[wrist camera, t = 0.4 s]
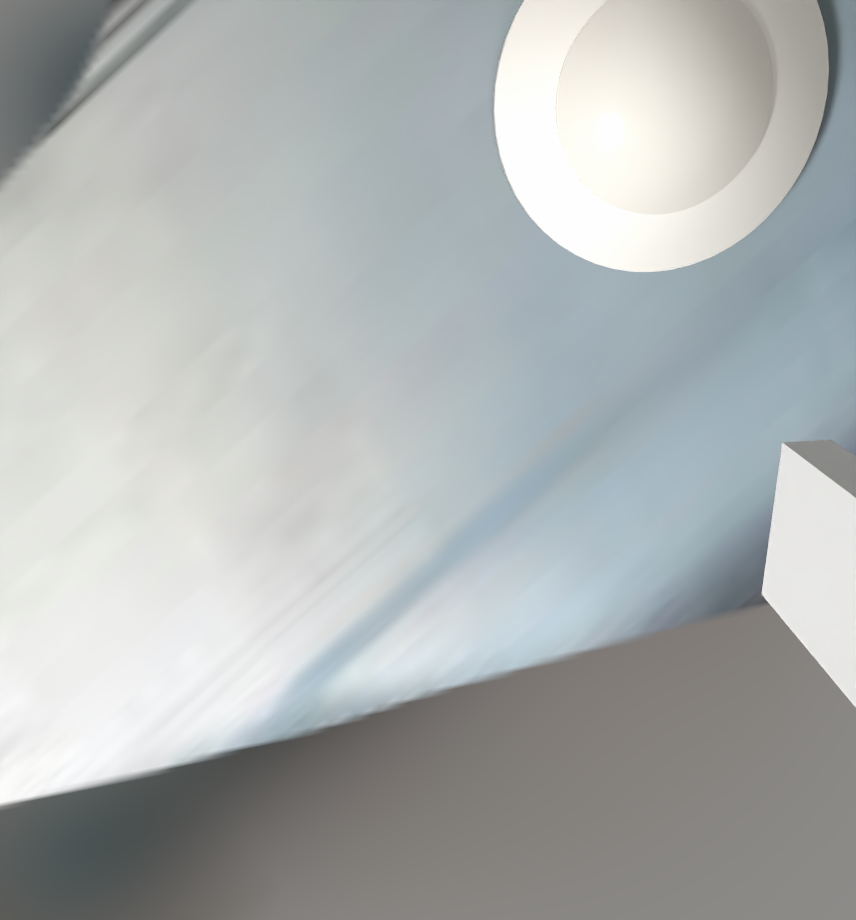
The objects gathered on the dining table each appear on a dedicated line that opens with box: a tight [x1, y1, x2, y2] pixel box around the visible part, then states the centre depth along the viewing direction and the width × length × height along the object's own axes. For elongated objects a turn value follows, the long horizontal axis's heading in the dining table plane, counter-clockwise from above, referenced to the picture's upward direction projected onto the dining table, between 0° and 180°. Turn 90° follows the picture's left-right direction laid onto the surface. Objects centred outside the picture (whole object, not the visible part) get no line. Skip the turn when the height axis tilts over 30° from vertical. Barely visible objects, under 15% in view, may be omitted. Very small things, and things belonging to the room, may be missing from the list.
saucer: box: [493, 0, 829, 272], centre depth 33 cm, size 14×14×1 cm
